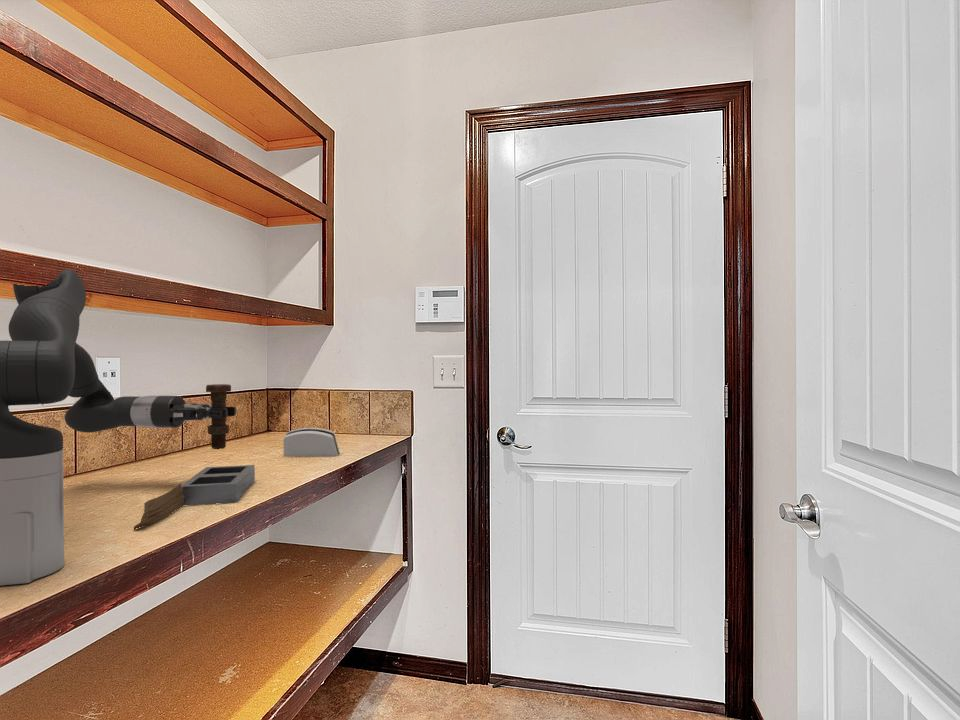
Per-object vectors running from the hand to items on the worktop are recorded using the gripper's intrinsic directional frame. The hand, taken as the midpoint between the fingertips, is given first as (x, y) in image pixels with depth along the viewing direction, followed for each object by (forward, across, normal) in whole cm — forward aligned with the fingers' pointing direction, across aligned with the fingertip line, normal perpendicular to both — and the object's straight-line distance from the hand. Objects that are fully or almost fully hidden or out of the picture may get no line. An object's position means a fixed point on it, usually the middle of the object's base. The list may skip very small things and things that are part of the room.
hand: (230, 412), depth 123 cm
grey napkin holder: (+5, +40, +18) cm, 45 cm away
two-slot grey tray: (0, -4, +18) cm, 18 cm away
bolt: (-3, 0, +9) cm, 9 cm away
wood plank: (-2, -23, +18) cm, 29 cm away
